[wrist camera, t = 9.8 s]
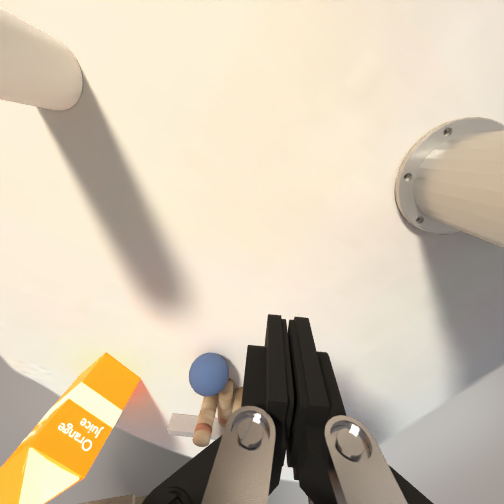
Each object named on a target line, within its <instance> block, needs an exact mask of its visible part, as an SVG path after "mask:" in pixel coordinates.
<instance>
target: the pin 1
mask: <svg viewBox="0 0 504 504" xmlns="http://www.w3.org/2000/svg"><path fill="white" fill-rule="evenodd" d="M218 398H219V393H218V394H216V395H213V396H208V397H207V396H204V399H203V403H202V406H201V410H200V414H199V418H198V422H197V425H196V428H195V431H194V437H193V443H194V444H195V445H197V446H199V447H205V446H207V445H208V444H209V441H210V438H211V433H212V427H213V422H214V417H215V412H216V407H217V403H218Z"/></svg>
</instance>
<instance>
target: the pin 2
mask: <svg viewBox="0 0 504 504" xmlns="http://www.w3.org/2000/svg"><path fill="white" fill-rule="evenodd" d="M242 394H243V387H239V388H237V389H236V390H235V394H234V402H233V409H232V413H233V412H234V411H235V410H237V409H239V408H241V403H242Z"/></svg>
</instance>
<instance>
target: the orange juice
mask: <svg viewBox="0 0 504 504" xmlns="http://www.w3.org/2000/svg"><path fill="white" fill-rule="evenodd" d="M140 379H141V378H140V377H138V376H137V375H136V374H134V373H133V372H132V371H130V370H129V369H128V368H126V367H125V366H124V365H122V364H121V363H120V362H118V361H117V360H116V359H114V358H113V357H112V356H110V355H109V354H108V353H105V354H104V355H103V356H101V357H100V358H99V359H98V360H97V361H96V362H95V363H93V364H92V365H91V366H90V367H89V368H88V369H87V370H85V371H84V372H83V373H82V374H81V375H80V376H79V377H78V378H77V379H76V380H75V381H74V382H73V384H72V385H71V386H70V387H69V388H68V389H67V391H66V392H65V393H64V394H63V395H62V396H61V398H60V399H59V400H58V401H57V402H56V404H55V405H54V406H53V407H52V408H51V409H50V410H49V411H48V413H47V414H46V415H45V416H44V417H43V418H42V420H41V421H40V422H39V423H38V424H37V426H36V427H35V428H34V429H33V431H32V432H31V433H30V434H29V435H28V437H27V438H25V440H24V441H23V442H22V443H21V445H20V446H19V447H18V448H17V449H16V451H15V452H14V453H13V454H12V455H11V457H10V458H9V459H8V460H7V461H6V462H5V464H4V465H3V466H2V467H1V468H0V504H43V503H44V504H45V503H46V501H50V500H51V499H52V498H54V497H55V496H57V495H59V494H60V493H62V492H63V491H65V490H66V489H68V488H69V487H71V486H73V485H74V484H76V483H77V482H79V481H80V480H81V479H83V478H85V476H86V474H87V472H88V470H89V469H90V467H91V465H92V463H93V462H94V460H95V458H96V456H97V455H98V453H99V451H100V449H101V448H102V446H103V444H104V442H105V440H106V439H107V437H108V435H109V433H110V431H111V430H112V428H113V427H114V425H115V424H116V422H117V420H118V418H119V417H120V415H121V413H122V411H123V409H124V407H125V405H126V404H127V402H128V400H129V398H130V396H131V395H132V393H133V391H134V389H135V388H136V386H137V384H138V382H139V381H140Z"/></svg>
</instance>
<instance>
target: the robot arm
mask: <svg viewBox="0 0 504 504" xmlns="http://www.w3.org/2000/svg"><path fill="white" fill-rule="evenodd" d="M444 131H445V133H444ZM443 133H444V134H443ZM405 174H406V177H405V178H404V176H405ZM395 194H396V201H397V205H398V208H399V210H400V211H401V213H402V215H403V216H404V217H405V219H406V220H407V221H408V222H409V223H411V224H412V225H414V226H415V227H417V228H419V229H421V230H423V231H426V232H430V233H433V234H453V233H458V232H465V233H467V234H470V235H472V236H475V237H477V238H480V239H482V240H485V241H487V242H489V243H492V244H494V245H497V246H499V247H502V248H504V125H503V124H501V123H499V122H497V121H494V120H492V119H487V118H481V117H474V118H464V119H458V120H454V121H451V122H448V123H445V124H443V125H441V126H439V127H437V128H435V129H433V130H431V131H430V132H429V133H427V134H426V135H425V136H423V137H422V138H421V139H420V140H419V141H418V142H417V143H416V144H415V145H414V146H413V147H412V148H411V150H410V151H409V153H408V154H407V155H406V157H405V158H404V160H403V162H402V164H401V166H400V169H399V172H398V175H397V178H396V186H395ZM417 218H418V219H417ZM416 219H417V220H416ZM286 452H287V465H288V467H293V472H294V480H299V484H300V487H301V489H302V490H303V491H304V492H305V493H306V495H307V496H308V502H309V504H433V503H432V502H431V501H430V500H428V499H427V498H426V497H425V496H424V495H423V494H422V493H420V492H419V491H418V490H417V489H416V488H415V487H413V486H412V485H411V484H410V483H409V482H408V481H406V480H405V479H404V478H403V477H402V476H401V475H399V474H398V473H397V472H396V471H395V470H394V469H393V468H391V467H390V466H389V465H388V464H387V462H386V460H385V458H384V456H383V454H382V452H381V450H380V448H379V446H378V444H377V442H376V440H375V438H374V437H373V435H372V434H371V432H370V431H369V430H368V429H367V428H366V427H365V426H364V425H363V424H362V423H360V422H359V421H357V420H356V419H354V418H351V417H349V416H346V413H345V409H344V406H343V402H342V399H341V396H340V392H339V389H338V385H337V382H336V379H335V375H334V372H333V369H332V365H331V362H330V358H329V356H328V354H327V353H326V352H316V348H315V343H314V339H313V335H312V331H311V327H310V323H309V319H308V318H303V317H295V318H294V320H289V326H288V333H287V324H286V319H281V315H270V314H268V320H267V329H266V339H265V347H264V346H254V345H248V348H247V357H246V366H245V375H244V384H243V394H242V403H241V408H239V409H237V410H235V411H234V412H233V413H232V414H231V415H230V417H229V419H228V421H227V423H226V426H225V429H224V433H223V435H221V436H220V437H219V438H218V439H216V440H215V441H214V442H213V443H211V444H210V445H209V446H208V447H206V448H205V449H204V450H203V451H201V452H200V453H199V454H198V455H196V456H195V457H194V458H193V459H191V460H190V461H189V462H188V463H186V464H185V465H184V466H183V467H181V468H180V469H179V470H178V471H176V472H175V473H174V474H172V475H171V476H170V477H169V478H167V479H166V480H165V481H164V482H163V483H161V484H160V485H159V486H157V487H156V488H155V489H154V490H153V491H152V492H151V493H150V494H149V495H147V496H141V497H136V498H134V494H130V495H125V496H120V497H113V498H108V499H102V500H97V501H91V502H86V503H80V504H267V501H268V496H269V495H270V494H271V493H272V491H273V490H274V489H275V488H276V487H277V486H278V484H279V481H280V475H281V469H282V466H283V464H284V459H285V453H286Z"/></svg>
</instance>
